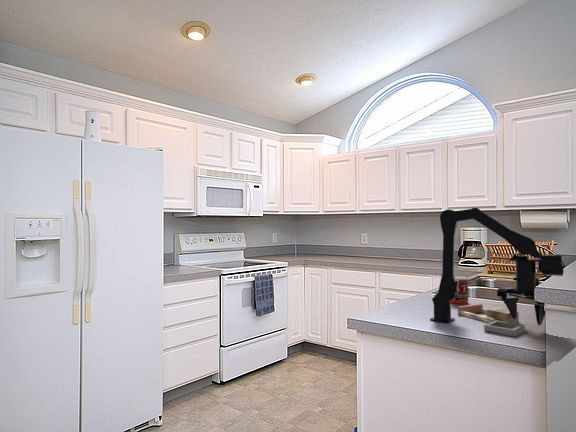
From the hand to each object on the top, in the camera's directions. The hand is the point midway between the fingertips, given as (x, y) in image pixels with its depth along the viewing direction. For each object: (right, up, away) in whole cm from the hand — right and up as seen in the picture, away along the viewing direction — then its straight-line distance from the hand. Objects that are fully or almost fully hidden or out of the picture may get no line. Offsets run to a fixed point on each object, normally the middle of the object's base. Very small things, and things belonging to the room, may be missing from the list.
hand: (526, 321), depth 136 cm
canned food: (-5, -3, +42) cm, 42 cm away
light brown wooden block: (-3, -2, +9) cm, 10 cm away
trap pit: (-9, -2, -4) cm, 10 cm away
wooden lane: (-6, -2, +15) cm, 17 cm away
